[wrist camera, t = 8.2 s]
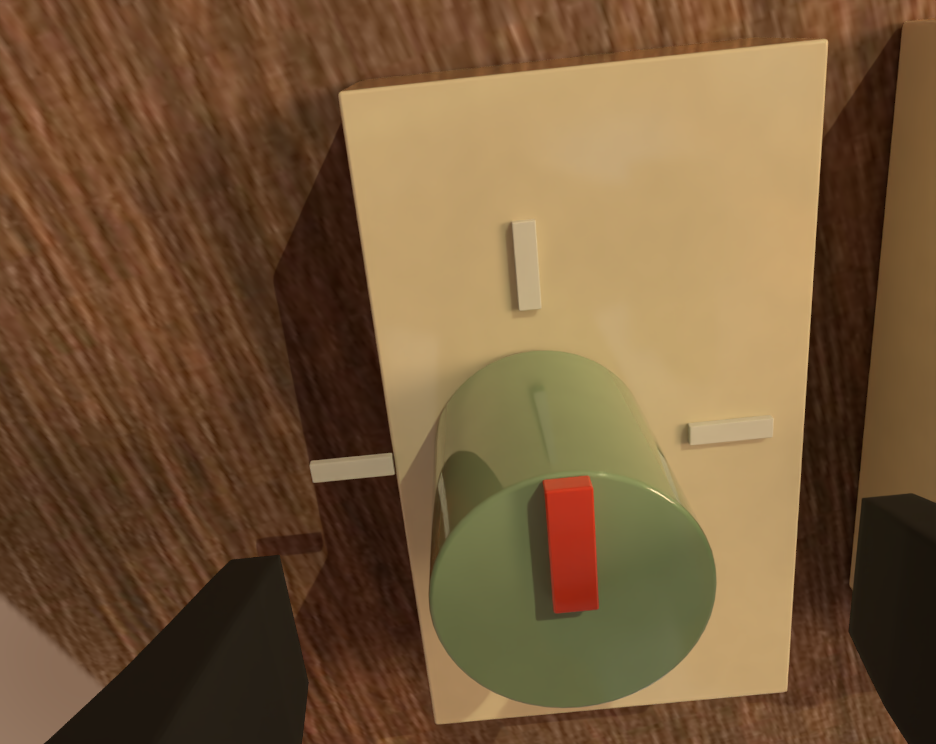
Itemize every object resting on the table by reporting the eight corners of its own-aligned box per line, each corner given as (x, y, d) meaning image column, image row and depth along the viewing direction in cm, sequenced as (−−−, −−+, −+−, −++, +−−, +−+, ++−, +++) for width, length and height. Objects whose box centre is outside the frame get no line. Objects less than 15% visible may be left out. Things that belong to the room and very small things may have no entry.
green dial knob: (648, 527, 15) (723, 713, 11) (446, 547, 15) (445, 740, 11) (645, 337, 13) (729, 471, 9) (421, 360, 13) (409, 502, 9)
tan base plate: (738, 596, 19) (791, 699, 16) (376, 630, 19) (363, 739, 16) (757, 37, 14) (834, 38, 11) (279, 88, 14) (236, 103, 12)
